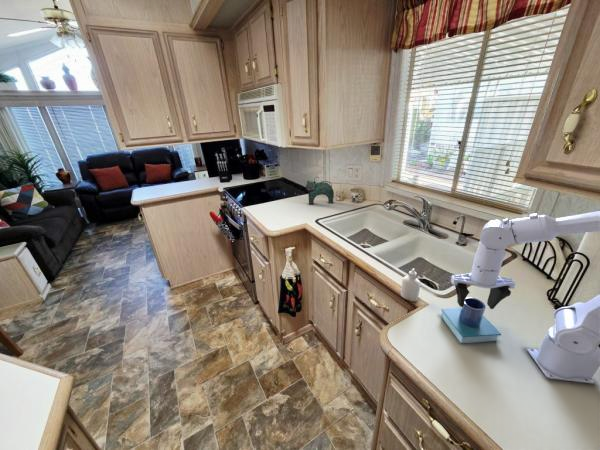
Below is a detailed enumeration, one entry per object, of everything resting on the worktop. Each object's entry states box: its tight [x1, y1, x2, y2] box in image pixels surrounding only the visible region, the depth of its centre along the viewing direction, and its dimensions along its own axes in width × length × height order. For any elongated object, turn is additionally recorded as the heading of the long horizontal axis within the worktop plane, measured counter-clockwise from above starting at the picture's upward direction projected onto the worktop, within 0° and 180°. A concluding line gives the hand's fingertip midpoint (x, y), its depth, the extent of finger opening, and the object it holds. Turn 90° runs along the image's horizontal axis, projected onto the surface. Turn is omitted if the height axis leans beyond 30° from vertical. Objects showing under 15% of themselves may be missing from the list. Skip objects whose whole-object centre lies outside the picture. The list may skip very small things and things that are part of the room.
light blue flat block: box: [441, 307, 502, 344], centre depth 74 cm, size 11×11×3 cm
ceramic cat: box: [305, 176, 335, 206], centre depth 178 cm, size 20×6×20 cm, turn 90°
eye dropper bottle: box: [400, 268, 421, 302], centre depth 85 cm, size 4×6×12 cm
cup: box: [459, 296, 486, 327], centre depth 72 cm, size 5×5×6 cm
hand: (474, 305), depth 70 cm, fingers open, 7 cm apart
